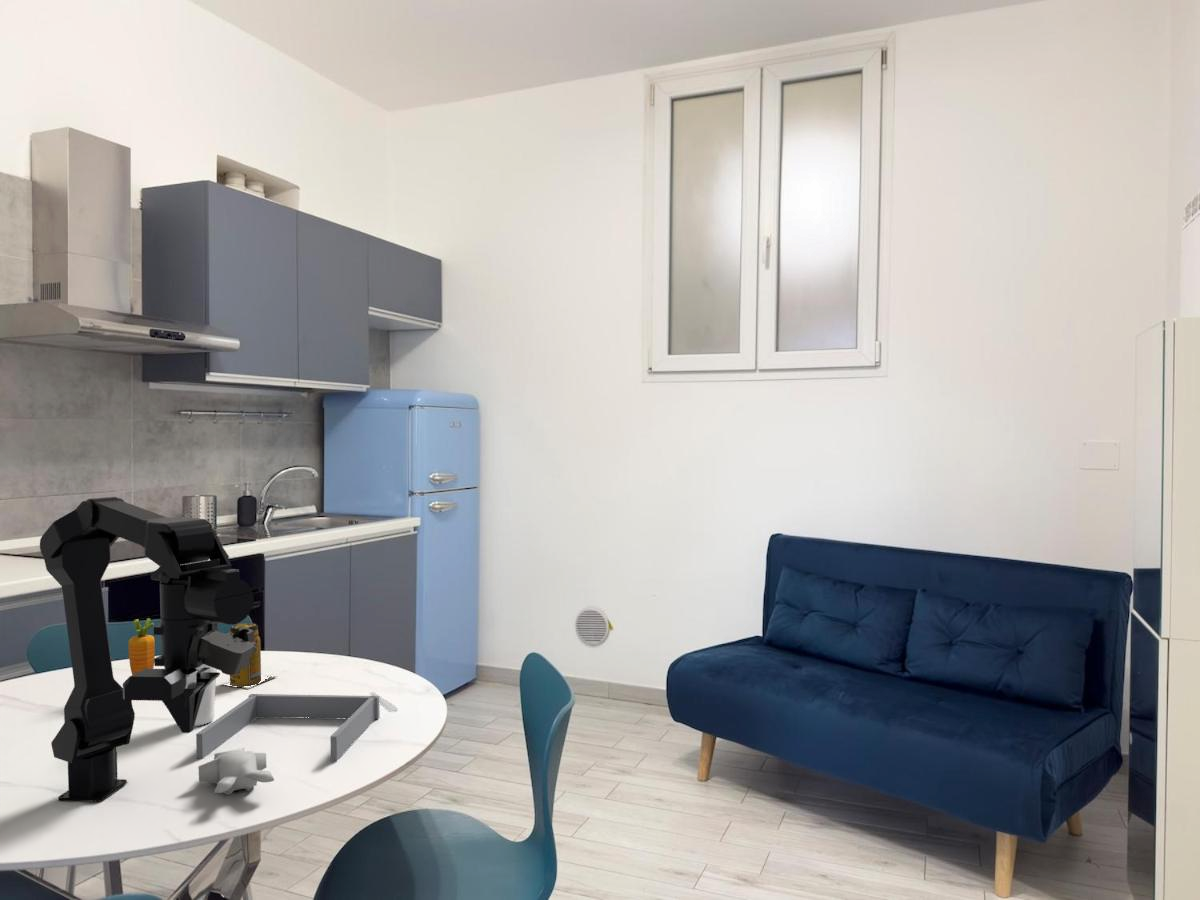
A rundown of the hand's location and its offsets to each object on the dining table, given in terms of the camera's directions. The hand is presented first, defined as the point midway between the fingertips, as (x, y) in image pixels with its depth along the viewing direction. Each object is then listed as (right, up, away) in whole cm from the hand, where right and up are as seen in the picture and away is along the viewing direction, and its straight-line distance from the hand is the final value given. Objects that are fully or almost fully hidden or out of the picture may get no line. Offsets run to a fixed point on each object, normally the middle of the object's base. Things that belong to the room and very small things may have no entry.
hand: (187, 732), depth 114 cm
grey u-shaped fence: (+2, -12, +33) cm, 35 cm away
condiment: (-18, -11, +65) cm, 68 cm away
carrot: (-37, -11, +58) cm, 69 cm away
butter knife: (+9, -11, +57) cm, 59 cm away
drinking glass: (-18, -12, +41) cm, 46 cm away
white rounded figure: (+1, -13, +13) cm, 19 cm away
